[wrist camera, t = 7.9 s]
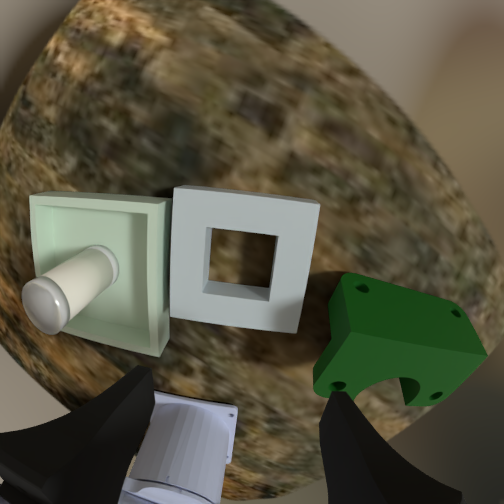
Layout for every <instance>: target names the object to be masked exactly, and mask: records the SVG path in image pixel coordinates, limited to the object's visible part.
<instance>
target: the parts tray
mask: <svg viewBox="0 0 504 504" xmlns="http://www.w3.org/2000/svg"><path fill="white" fill-rule="evenodd" d="M171 209H172V198H160V197H148V196H135V195H121V194H105V193H88V192H67V191H48V192H43V193H39V194H34V195H30V223H31V237H32V248H33V258H34V266H35V273H36V277H38V276H41V275H43V274H45V273H46V272H48V271H50V270H51V269H53V268H55V267H56V266H58V265H60V264H62V263H63V262H65V261H67V260H69V259H70V258H72V257H74V256H76V255H78V254H79V253H81V252H83V251H84V250H85V249H87V248H89V247H91V246H93V245H103V246H106V247H107V248H109V249H110V250H111V251H112V252H113V253H114V255H115V256H116V258H117V260H118V263H119V276H118V278H117V280H116V282H115V283H113V284H112V285H111V286H110V287H109V288H107V289H105V290H104V291H103V292H102V293H101V294H99V295H98V296H97V297H96V298H95V299H94V300H93V301H91V302H90V303H89V304H88V305H87V306H86V307H85V308H83V309H82V310H81V311H80V312H79V313H78V314H77V315H75V316H74V317H73V318H72V319H71V320H70V321H69V322H68V324H67V325H66V326H65V327H64V328H63V329H61V330H60V331H63V332H66V333H69V334H72V335H76V336H79V337H82V338H86V339H89V340H92V341H96V342H100V343H103V344H107V345H111V346H114V347H118V348H122V349H126V350H130V351H135V352H139V353H143V354H148V355H152V356H157V357H160V355H161V353H162V351H163V349H164V347H165V345H166V343H167V342H168V340H169V338H170V335H169V256H170V228H171Z"/></svg>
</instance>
